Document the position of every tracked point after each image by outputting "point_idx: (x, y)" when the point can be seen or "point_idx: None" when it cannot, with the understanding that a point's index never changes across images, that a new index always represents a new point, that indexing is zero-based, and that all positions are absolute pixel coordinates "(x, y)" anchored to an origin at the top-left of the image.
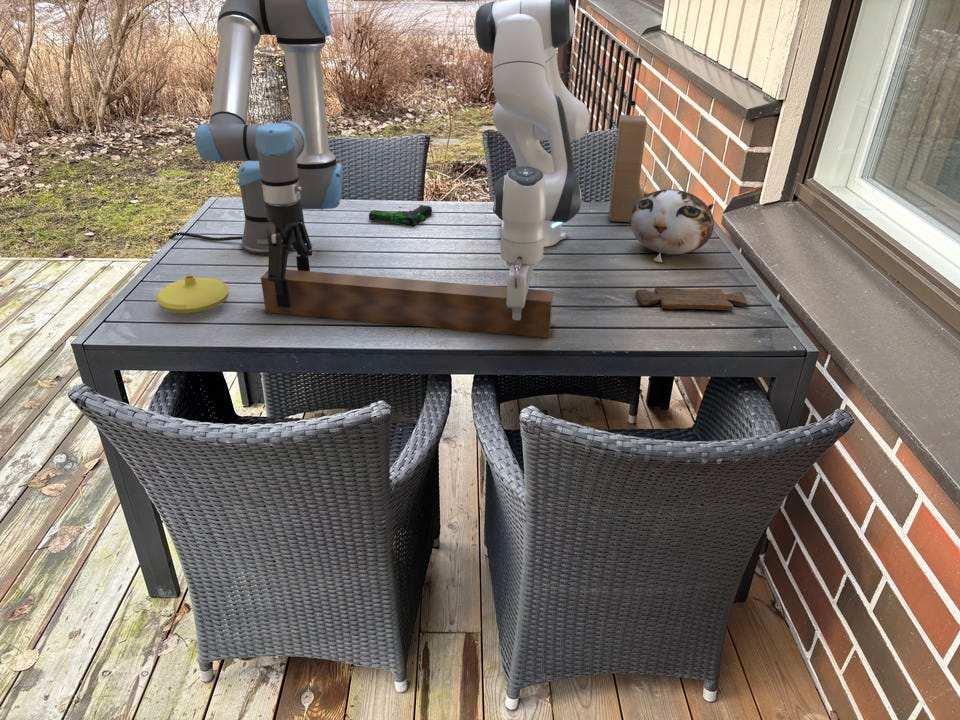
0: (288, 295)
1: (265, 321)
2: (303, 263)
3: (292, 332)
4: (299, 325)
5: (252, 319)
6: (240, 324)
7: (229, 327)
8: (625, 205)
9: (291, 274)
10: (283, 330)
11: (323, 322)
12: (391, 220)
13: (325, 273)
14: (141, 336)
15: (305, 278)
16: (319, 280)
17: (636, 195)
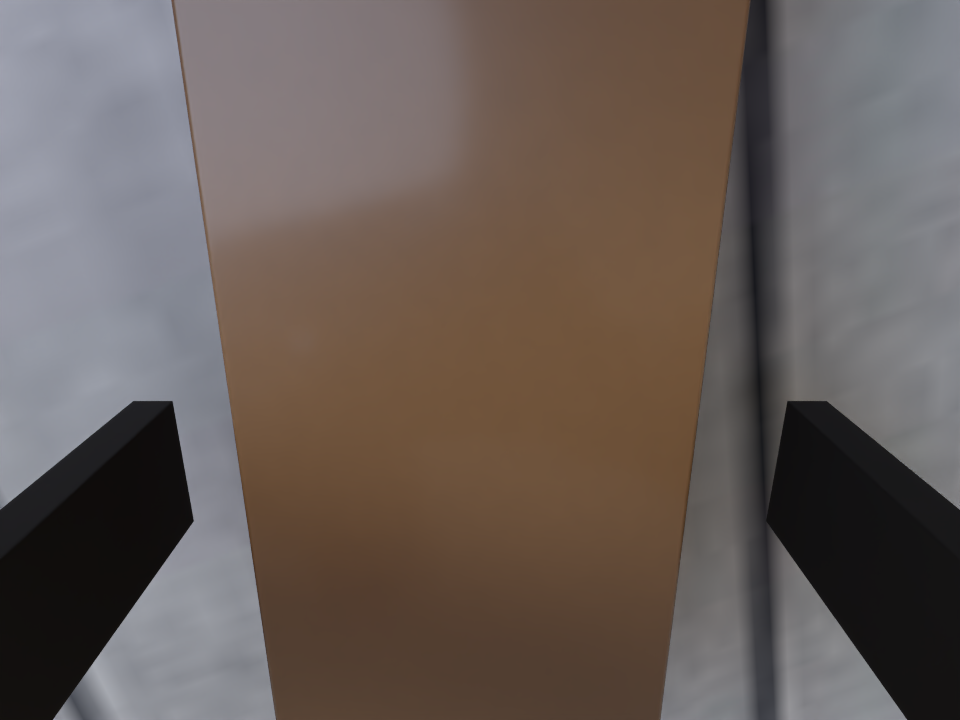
0: (896, 476)
1: (714, 543)
2: (5, 644)
3: (909, 270)
4: (772, 259)
5: (688, 634)
6: (771, 674)
7: (818, 716)
8: None
9: (455, 664)
10: (869, 358)
11: None
12: None
13: (242, 77)
14: None
15: (576, 402)
16: (637, 80)
17: None
